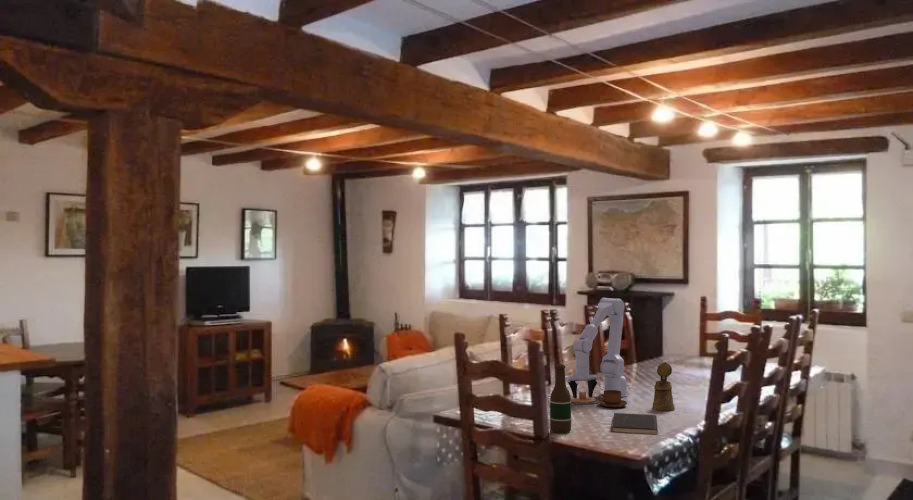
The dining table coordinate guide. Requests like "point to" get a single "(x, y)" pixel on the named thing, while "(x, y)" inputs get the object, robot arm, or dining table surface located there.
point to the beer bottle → (560, 404)
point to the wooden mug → (663, 389)
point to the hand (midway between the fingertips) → (582, 397)
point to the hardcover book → (635, 423)
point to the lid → (583, 398)
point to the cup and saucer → (611, 399)
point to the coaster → (585, 403)
